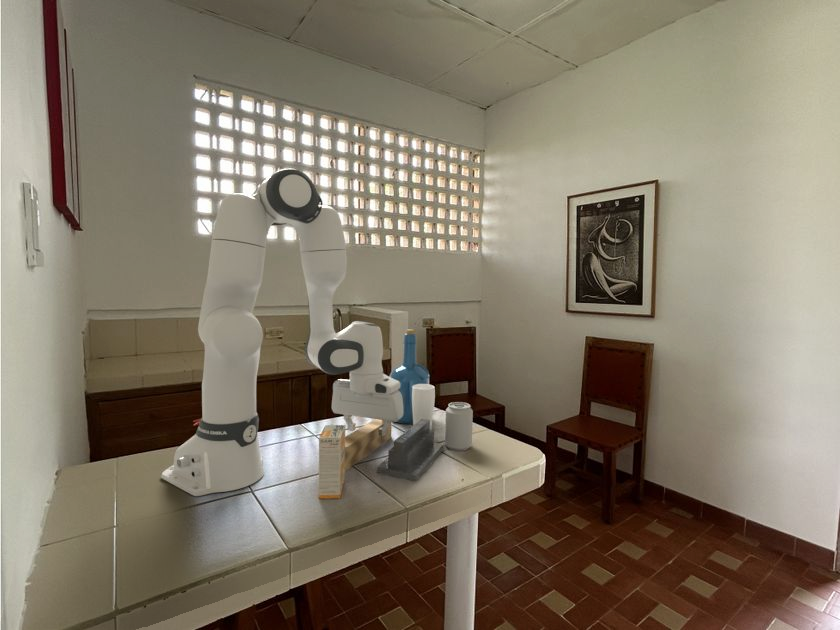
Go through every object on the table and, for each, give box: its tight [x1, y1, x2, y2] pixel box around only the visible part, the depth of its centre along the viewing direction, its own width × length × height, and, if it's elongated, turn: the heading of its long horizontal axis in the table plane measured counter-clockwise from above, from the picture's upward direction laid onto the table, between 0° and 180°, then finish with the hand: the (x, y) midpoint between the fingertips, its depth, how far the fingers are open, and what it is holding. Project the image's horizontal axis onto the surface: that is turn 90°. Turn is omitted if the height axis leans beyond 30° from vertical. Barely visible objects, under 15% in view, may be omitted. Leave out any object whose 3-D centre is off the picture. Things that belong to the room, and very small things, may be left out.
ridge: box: [376, 419, 445, 482], centre depth 105 cm, size 10×20×8 cm, turn 158°
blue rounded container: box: [389, 328, 430, 425], centre depth 137 cm, size 14×13×30 cm
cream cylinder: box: [412, 383, 436, 430], centre depth 122 cm, size 7×7×15 cm
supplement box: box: [317, 424, 346, 500], centre depth 89 cm, size 8×5×13 cm, turn 4°
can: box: [444, 401, 474, 452], centre depth 115 cm, size 8×8×12 cm
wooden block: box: [345, 419, 393, 472], centre depth 111 cm, size 24×4×6 cm, turn 157°
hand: (366, 432), depth 111 cm, fingers open, 8 cm apart
